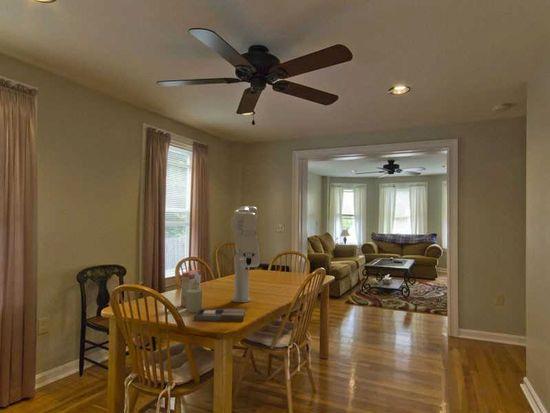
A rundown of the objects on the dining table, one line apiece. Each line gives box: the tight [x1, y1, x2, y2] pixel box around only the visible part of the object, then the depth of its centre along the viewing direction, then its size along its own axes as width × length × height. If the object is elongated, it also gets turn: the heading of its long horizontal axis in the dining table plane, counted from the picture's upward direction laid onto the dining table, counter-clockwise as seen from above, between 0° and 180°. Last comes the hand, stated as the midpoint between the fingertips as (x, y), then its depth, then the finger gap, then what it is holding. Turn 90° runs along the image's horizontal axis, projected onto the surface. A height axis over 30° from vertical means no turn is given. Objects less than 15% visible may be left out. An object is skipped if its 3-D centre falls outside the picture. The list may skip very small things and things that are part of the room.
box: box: [193, 308, 225, 322], centre depth 191 cm, size 14×14×2 cm
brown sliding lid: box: [220, 307, 246, 322], centre depth 191 cm, size 14×12×3 cm
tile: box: [203, 310, 216, 316], centre depth 191 cm, size 6×6×2 cm
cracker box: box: [180, 269, 202, 308], centre depth 218 cm, size 14×6×21 cm, turn 163°
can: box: [185, 288, 203, 313], centre depth 205 cm, size 9×9×12 cm
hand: (248, 264), depth 203 cm, fingers closed
